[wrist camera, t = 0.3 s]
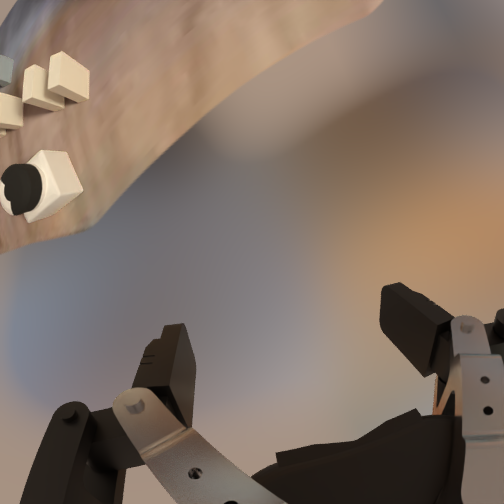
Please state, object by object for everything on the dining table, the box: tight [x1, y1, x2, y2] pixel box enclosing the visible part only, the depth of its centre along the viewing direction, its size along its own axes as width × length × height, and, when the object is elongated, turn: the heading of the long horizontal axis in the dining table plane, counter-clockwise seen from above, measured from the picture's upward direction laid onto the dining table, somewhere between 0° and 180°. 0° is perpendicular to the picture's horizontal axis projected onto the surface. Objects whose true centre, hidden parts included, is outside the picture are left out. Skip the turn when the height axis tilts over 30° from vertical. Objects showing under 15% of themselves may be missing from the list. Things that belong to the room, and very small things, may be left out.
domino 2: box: [0, 93, 24, 130], centre depth 25 cm, size 5×2×9 cm, turn 6°
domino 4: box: [48, 51, 89, 103], centre depth 26 cm, size 5×2×9 cm, turn 6°
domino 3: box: [22, 64, 64, 112], centre depth 26 cm, size 5×2×9 cm, turn 6°
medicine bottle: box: [0, 150, 83, 223], centre depth 28 cm, size 7×7×12 cm
